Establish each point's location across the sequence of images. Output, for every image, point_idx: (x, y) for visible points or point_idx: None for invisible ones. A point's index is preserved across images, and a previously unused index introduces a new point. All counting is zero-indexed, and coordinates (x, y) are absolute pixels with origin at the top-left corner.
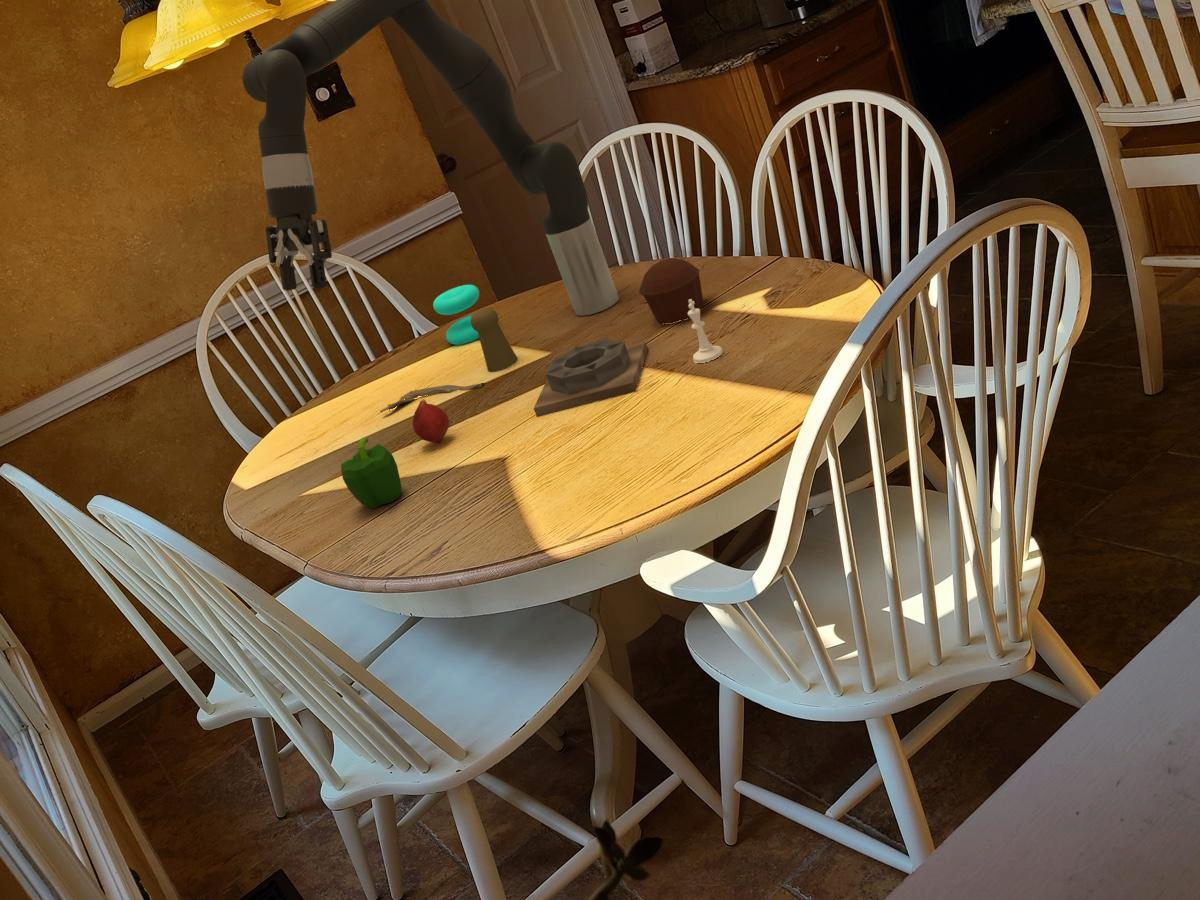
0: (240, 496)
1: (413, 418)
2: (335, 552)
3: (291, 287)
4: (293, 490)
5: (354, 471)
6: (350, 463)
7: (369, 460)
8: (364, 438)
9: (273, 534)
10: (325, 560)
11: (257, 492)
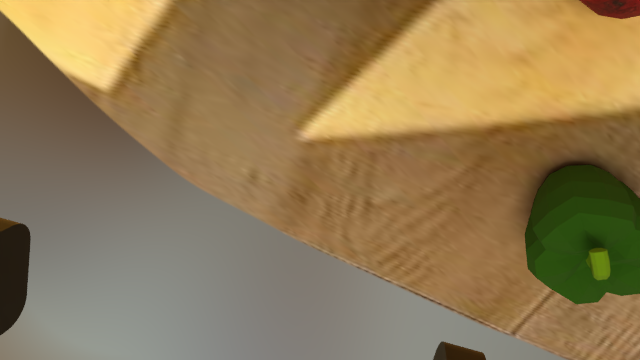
0: (121, 115)
1: (598, 2)
2: (561, 325)
3: (17, 271)
4: (258, 116)
5: (595, 301)
6: (564, 277)
7: (634, 289)
8: (607, 264)
9: (357, 254)
10: (553, 339)
11: (154, 107)
